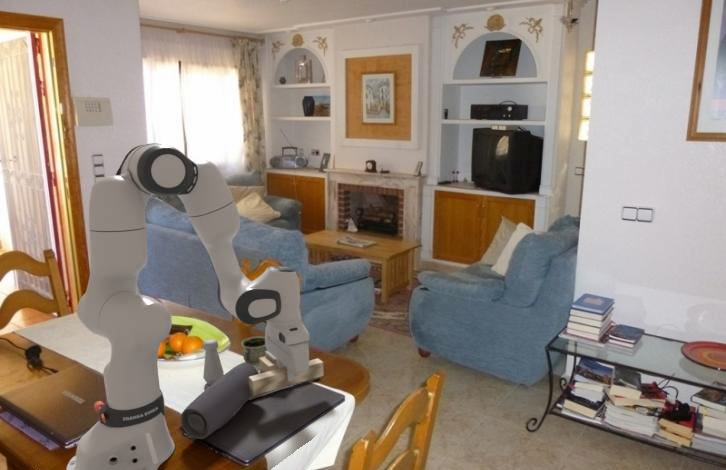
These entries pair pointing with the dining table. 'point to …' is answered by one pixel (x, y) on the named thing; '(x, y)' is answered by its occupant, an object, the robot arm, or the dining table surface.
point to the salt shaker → (212, 362)
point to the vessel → (253, 349)
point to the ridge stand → (271, 364)
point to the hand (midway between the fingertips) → (286, 376)
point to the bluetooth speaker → (218, 402)
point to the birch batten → (283, 378)
